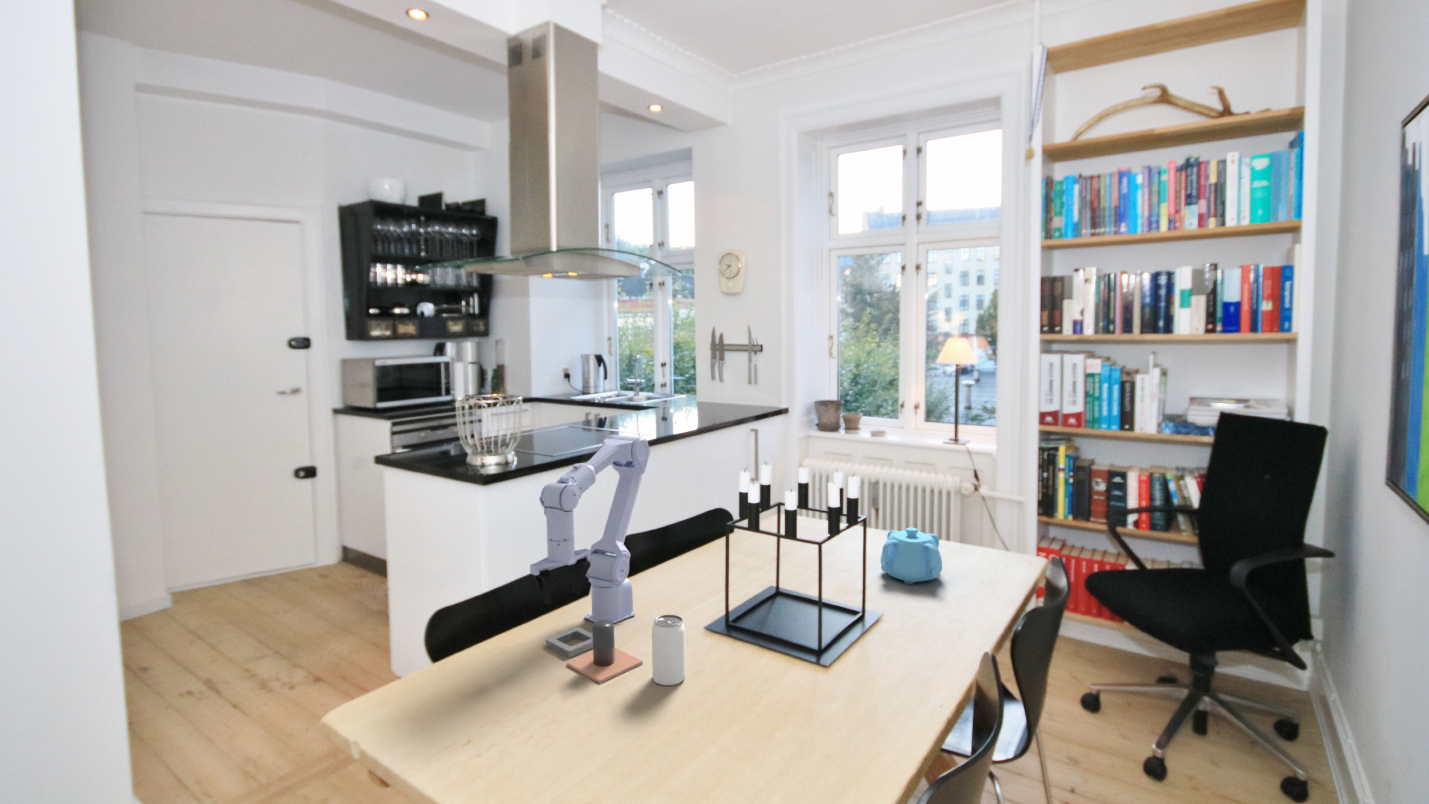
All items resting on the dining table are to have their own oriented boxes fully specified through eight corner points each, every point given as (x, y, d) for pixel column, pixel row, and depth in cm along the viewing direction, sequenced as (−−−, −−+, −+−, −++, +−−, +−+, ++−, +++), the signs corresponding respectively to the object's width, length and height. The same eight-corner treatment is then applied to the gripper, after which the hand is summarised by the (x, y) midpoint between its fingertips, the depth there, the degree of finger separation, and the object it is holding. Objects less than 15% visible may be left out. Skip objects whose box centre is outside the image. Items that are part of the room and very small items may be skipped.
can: (670, 667, 145) (670, 610, 144) (692, 678, 141) (691, 620, 139) (646, 678, 141) (645, 620, 139) (667, 690, 136) (666, 630, 135)
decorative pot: (873, 581, 193) (874, 532, 191) (887, 563, 207) (888, 517, 205) (935, 591, 185) (936, 540, 184) (945, 571, 200) (947, 524, 198)
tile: (609, 647, 154) (608, 644, 154) (642, 663, 147) (642, 660, 147) (566, 665, 146) (566, 662, 146) (600, 683, 139) (599, 680, 139)
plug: (606, 654, 150) (605, 617, 149) (619, 660, 147) (618, 623, 146) (589, 661, 146) (587, 624, 145) (602, 668, 143) (601, 630, 142)
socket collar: (578, 632, 161) (578, 626, 161) (601, 644, 156) (601, 637, 155) (546, 645, 155) (545, 638, 155) (569, 658, 149) (569, 651, 149)
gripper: (543, 549, 145) (545, 612, 147) (598, 533, 156) (600, 593, 158) (523, 542, 150) (525, 604, 152) (579, 527, 161) (580, 585, 162)
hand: (562, 597), depth 155 cm, fingers open, 7 cm apart
